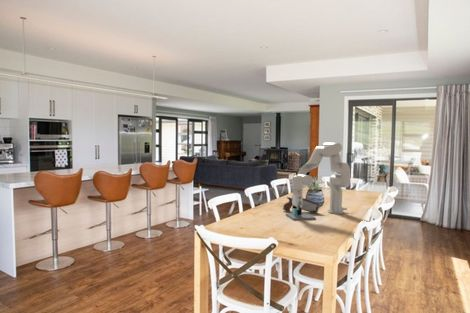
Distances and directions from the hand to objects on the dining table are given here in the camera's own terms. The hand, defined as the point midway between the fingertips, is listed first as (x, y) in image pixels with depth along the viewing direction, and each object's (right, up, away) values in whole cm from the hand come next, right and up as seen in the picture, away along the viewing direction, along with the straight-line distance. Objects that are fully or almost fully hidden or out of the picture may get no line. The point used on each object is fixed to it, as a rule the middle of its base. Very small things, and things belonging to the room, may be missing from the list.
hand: (296, 213), depth 255 cm
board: (+3, -3, +1) cm, 4 cm away
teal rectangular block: (0, -2, 0) cm, 2 cm away
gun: (+7, -2, +19) cm, 21 cm away
